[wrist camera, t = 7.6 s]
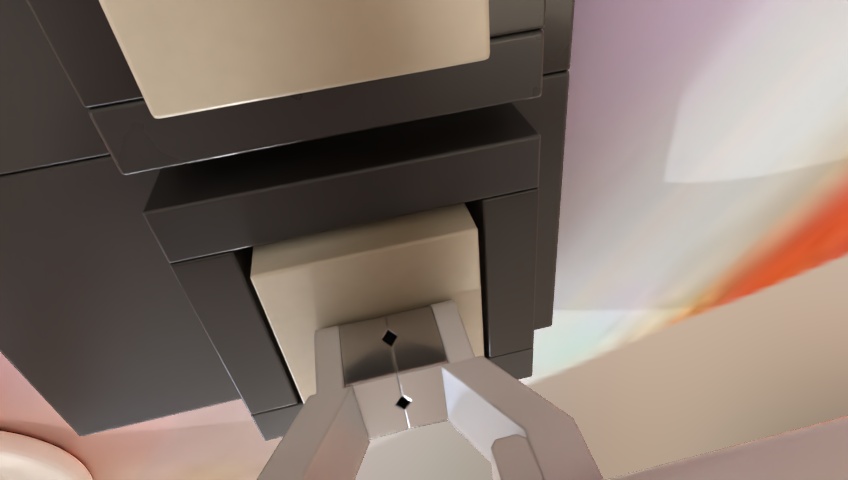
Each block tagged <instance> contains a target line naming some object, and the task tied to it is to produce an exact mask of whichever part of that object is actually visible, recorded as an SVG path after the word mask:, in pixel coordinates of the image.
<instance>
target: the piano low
mask: <svg viewBox="0 0 848 480" xmlns="http://www.w3.org/2000/svg"><path fill="white" fill-rule="evenodd" d="M568 85H569V72H568V70H564V71H559V72H553V73H548V74H543V80H542V94H541V96H540V97H538V98H532V99H527V100H522V101H516V102H511V103H506V104H501V105H495V106H490V107H485V108H479V109H474V110H469V111H464V112H458V113H453V114H448V115H443V116H437V117H432V118H427V119H421V120H416V121H411V122H406V123H400V124H395V125H390V126H384V127H379V128H374V129H369V130H363V131H358V132H353V133H347V134H342V135H337V136H332V137H326V138H321V139H316V140H311V141H305V142H300V143H295V144H289V145H284V146H279V147H274V148H268V149H263V150H258V151H252V152H247V153H242V154H237V155H231V156H226V157H221V158H215V159H210V160H205V161H200V162H194V163H189V164H184V165H179V166H173V167H168V168H163V169H157V170H152V171H147V172H142V173H136V174H131V175H122V174H121V173H120V171H119V169H118V168H117V166H116V164H115V162H114V160H113V158H112V157H111V155H105V156H99V157H94V158H88V159H83V160H77V161H72V162H67V163H61V164H56V165H50V166H45V167H40V168H34V169H29V170H23V171H18V172H13V173H7V174H2V175H0V352H1V353H2V354H3V355H4V356H5V357H6V358H7V359H8V360H9V361H10V362H11V364H12V365H13V366H14V367H15V368H16V369H17V370H18V371H19V372H20V373H21V374H22V375H23V376H24V377H25V378H26V379H27V381H28V382H29V383H30V384H31V385H32V386H33V387H34V388H35V389H36V390H37V391H38V392H39V393H40V394H41V395H42V396H43V398H44V399H45V400H46V401H47V402H48V403H49V404H50V405H51V406H52V407H53V408H54V409H55V410H56V411H57V412H58V414H59V415H60V416H61V417H62V418H63V419H64V420H65V421H66V422H67V423H68V424H69V425H70V426H71V427H72V428H73V429H74V431H75V432H76V433H77V434H78V435H79V436H85V435H90V434H94V433H98V432H102V431H107V430H111V429H115V428H119V427H124V426H128V425H132V424H136V423H141V422H145V421H149V420H153V419H158V418H162V417H166V416H170V415H175V414H179V413H183V412H187V411H192V410H196V409H200V408H204V407H209V406H213V405H217V404H221V403H226V402H230V401H234V400H238V399H242V400H243V401H244V403H245V405H246V407H247V409H248V411H249V413H250V414H251V416H252V418H253V420H254V422H255V424H256V426H257V427H258V429H259V431H260V433H261V435H262V437H263V438H264V440H265V441H268V440H272V439H276V438H280V437H284V435H285V434H286V432H287V430H288V429H289V427H290V426H291V424H292V423H293V421H294V419H295V418H296V416H297V415H298V413H299V411H300V410H301V408H302V407H303V405H304V404H303V401H302V399H301V397H300V394H299V392H298V389H297V387H296V385H295V382H294V380H293V378H292V375H291V373H290V371H289V368H288V366H287V363H286V361H285V359H284V356H283V354H282V352H281V349H280V347H279V345H278V342H277V340H276V338H275V335H274V333H273V330H272V328H271V326H270V323H269V321H268V319H267V316H266V314H265V312H264V309H263V307H262V304H261V302H260V300H259V297H258V295H257V293H256V290H255V288H254V286H253V283H252V281H251V279H250V276H251V265H252V254H253V246H257V245H262V244H267V243H272V242H277V241H281V240H286V239H291V238H296V237H301V236H306V235H310V234H315V233H320V232H325V231H330V230H335V229H339V228H344V227H349V226H354V225H359V224H364V223H368V222H373V221H378V220H383V219H388V218H393V217H397V216H402V215H407V214H412V213H417V212H422V211H426V210H431V209H436V208H441V207H446V206H451V205H455V204H460V203H465V205H466V207H467V209H468V211H469V213H470V215H471V217H472V219H473V221H474V223H475V225H476V227H477V229H478V242H479V261H480V281H481V300H482V320H483V339H484V357H485V358H487V359H488V360H490V361H491V362H493V363H494V364H495V365H497V366H498V367H500V368H501V369H503V370H504V371H506V372H507V373H508V374H510V375H511V376H513V377H514V378H516V379H517V380H518V379H522V378H526V377H530V376H532V364H533V338H534V330H536V329H541V328H545V327H549V326H551V325H552V315H553V301H554V286H555V272H556V258H557V243H558V229H559V215H560V200H561V186H562V171H563V157H564V143H565V128H566V114H567V100H568Z"/></svg>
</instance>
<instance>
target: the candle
mask: <svg viewBox="0 0 848 480" xmlns="http://www.w3.org/2000/svg"><path fill="white" fill-rule="evenodd" d="M0 480H93V479H92V477H91V475H90V473H89V471H88V470H87V468H86V467H85V466H84V465H83V464H82V463H81V462H80V461H79V460H78V459H76V458H75V457H74V456H72V455H71V454H69V453H68V452H66V451H64V450H62V449H60V448H58V447H56V446H54V445H52V444H49V443H46V442H44V441H41V440H38V439H35V438H31V437H28V436H24V435H20V434H15V433H10V432H4V431H0Z"/></svg>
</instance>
